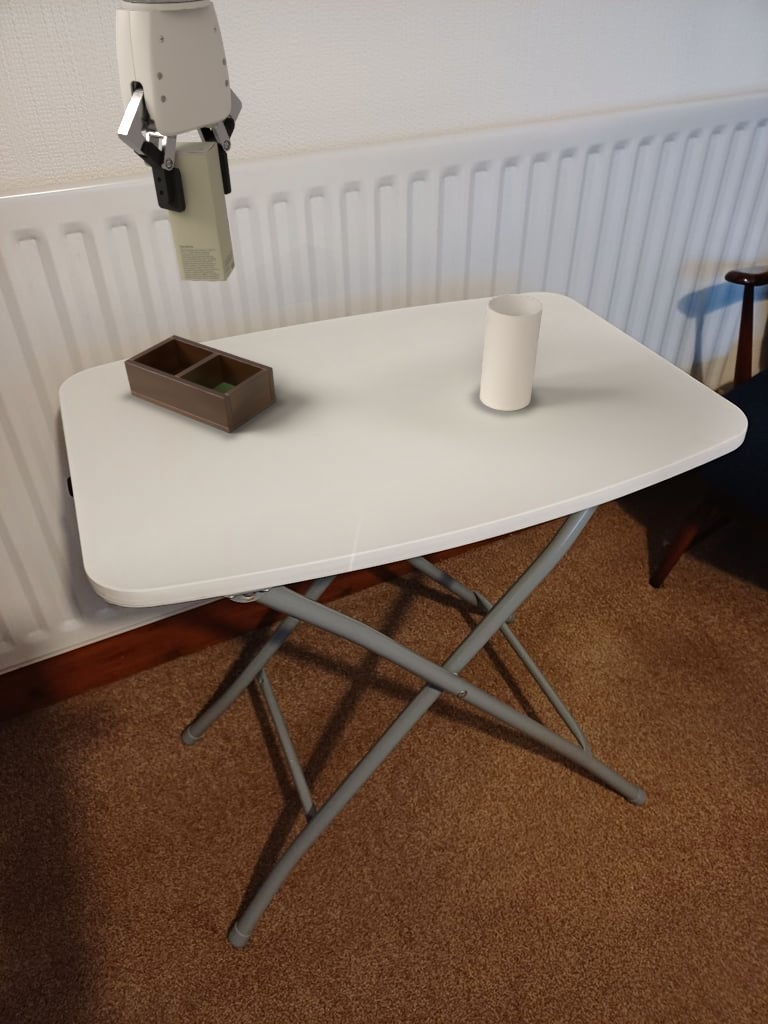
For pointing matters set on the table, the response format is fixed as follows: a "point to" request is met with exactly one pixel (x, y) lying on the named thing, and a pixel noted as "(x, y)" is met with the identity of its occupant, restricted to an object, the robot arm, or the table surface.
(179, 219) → the box
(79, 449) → the table surface
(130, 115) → the robot arm
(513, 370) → the cup
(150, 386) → the divided tray
